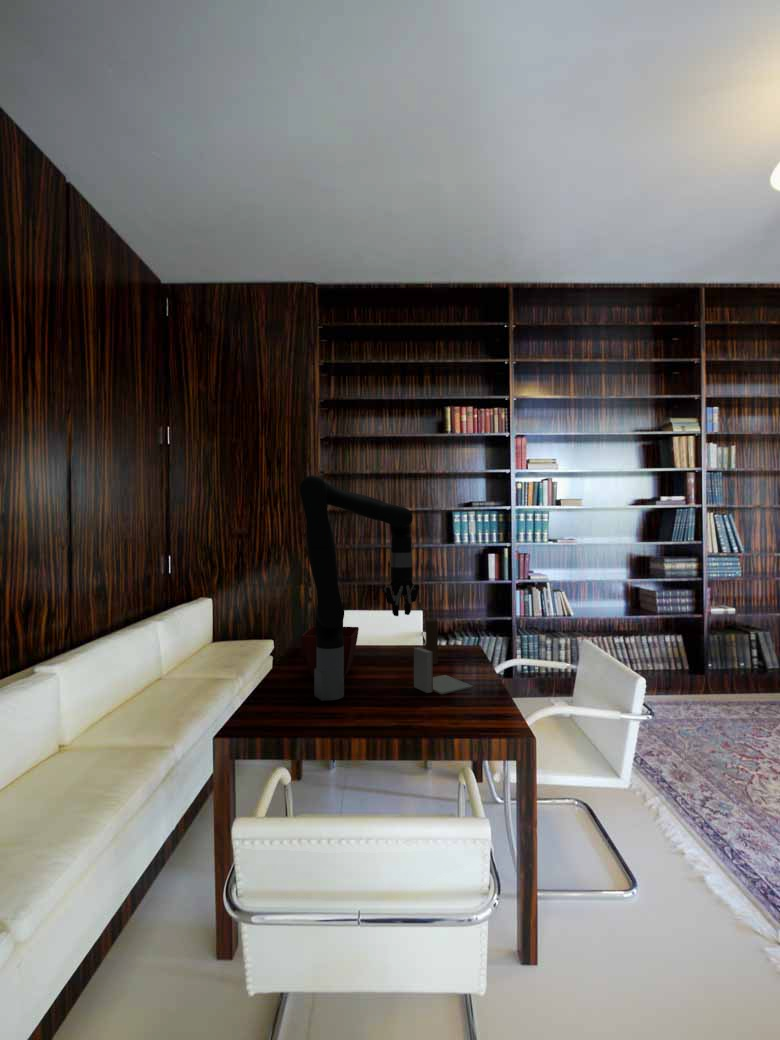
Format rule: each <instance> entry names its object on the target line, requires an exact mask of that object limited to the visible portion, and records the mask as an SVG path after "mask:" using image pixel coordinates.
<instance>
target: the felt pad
mask: <svg viewBox="0 0 780 1040" xmlns="http://www.w3.org/2000/svg"><path fill="white" fill-rule="evenodd" d="M473 688H474V686H473V685H471V684H469V683H466V682H464V681H462V680H459V679H457V678H454V677H452V676H449V675H446V674H444V675H443V674H442V675H437V676H433V692H435V693H438V694H440V695H441V696H442V695H446V694H447V695H448V694H450V693H454V692H459V691H464V690H467V689H468V690H469V689H473Z"/></svg>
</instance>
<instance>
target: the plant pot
mask: <svg viewBox="0 0 780 1040" xmlns="http://www.w3.org/2000/svg"><path fill="white" fill-rule="evenodd" d="M359 629H360V628H359V627H358V626H343V638H344V679H345V677H346V676H347V674H348V673H349V672H350V669H351V666H352V663H353V660H354V656H355V652H356V648H357V647H356V646H357V642H358V636H359ZM301 640H302V648H303V652H304V658H305V661H306V665H307V668H308V672H309V674H310V676H311V678H314V669H315V668H317V646H316V625H313V626H311V627H310V628H309V629H307V631H305V632H304V633H303V634H301Z"/></svg>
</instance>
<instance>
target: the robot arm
mask: <svg viewBox="0 0 780 1040" xmlns="http://www.w3.org/2000/svg"><path fill="white" fill-rule="evenodd" d="M298 490H299V491H298V493H299V495H300V498H301V501H302V506H303V510H304V515H305V524H306V527H305V530H306V532H305V533H306V545H307V546H306V547H307V555H308V561H309V565H310V570H311V574H312V577H313V581H314V584H315V588H316V600H317V601H316V602H317V604H316V609H315V626H316V646H317V668H315V669H314V677H313V678H314V679H313V681H314V683H313V684H314V685H313V686H314V697H315V698H317V699H318V700H319V701H321V702H324V701H337V700H339V699H340V700H341V699H342V698H344V696H345V681H344V680H345V678H344V638H343V627H344V626H343V623H344V622H343V620H344V617H345V609H344V606H343V602H342V598H341V594H340V590H339V589H340V588H339V582H338V579H339V578H338V577H339V576H338V559H337V552H336V545H335V543H336V542H335V539H334V535H333V530H332V527H331V524H330V523H331V522H330V519H329V515H328V514H329V513H328V506H333V507H336V508H340V509H343V510H345V511H348V512H350V513H353V514H355V515H359V516H361V517H364V518H366V519H367V518H368V519H369V520H374V521H377V522H383V523H385V524H388V525H390V534H391V539H390V540H391V541H390V542H391V543H390V546H391V548H390V549H391V550H390V551H391V553H390V580H391V581H390V583H389V585H388V586H384V587H382V589H383V593H384V597H385V599H386V600H385V601H386V603H387V604H390V605H392V606H391V609H392V614H393V616H394V617H399V615H400V613H399V611H400V610H399V609H400V608H399V602H400V600H401V596H402V597H403V598H404V615H406V616H409V615H410V614H411V613H412V611H411V609H412V608H411V606H412V605H411V604H412V603H415V602H416V601H417V597H418V593H419V590H420V585H419V584H414V583H413V581H412V579H413V554H412V550H413V549H412V545H413V544H412V538H411V535H410V534H411V533H410V532H411V531H410V527H411V524H412V522H413V517H414V516H413V514H412V512H411V510H409V509H408V508H406V507H404V506H403V507H402V506H399V505H396V504H391V503H387V502H384V501H383V500H381V499H377V498H374V497H370V496H367V495H364V494H361V493H355V492H351V491H347V490H344V489H340V488H338V487H337V486H334V485H332V484H329V482H326V481H325V480H324V479H323V478H321V476H319V475H314V474H311V475H308V476H306V477H304V478H303V479H302V480H301V482H300V484H299V487H298Z"/></svg>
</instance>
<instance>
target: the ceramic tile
mask: <svg viewBox="0 0 780 1040" xmlns="http://www.w3.org/2000/svg"><path fill="white" fill-rule="evenodd" d="M433 665H434V664H433V652H432V651H429V650H426V649H424V648H423V647H414V648H413V688H415V689H417V690H419V691H421V692H423V693H426V694H429V693H433V692H434V691H433V677H434V676H433V675H434V666H433Z"/></svg>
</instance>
